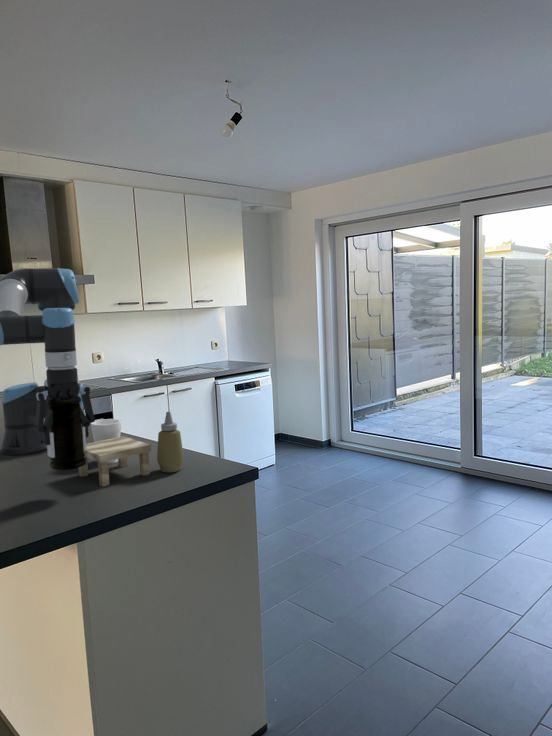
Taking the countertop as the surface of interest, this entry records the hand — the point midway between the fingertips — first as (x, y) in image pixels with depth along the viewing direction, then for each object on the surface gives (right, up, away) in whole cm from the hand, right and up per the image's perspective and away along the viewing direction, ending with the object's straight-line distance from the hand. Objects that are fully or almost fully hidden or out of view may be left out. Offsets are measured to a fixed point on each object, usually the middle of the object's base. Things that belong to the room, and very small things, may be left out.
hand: (67, 453), depth 146 cm
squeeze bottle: (+23, -9, +22) cm, 33 cm away
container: (0, -4, 0) cm, 4 cm away
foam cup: (+1, -8, +33) cm, 34 cm away
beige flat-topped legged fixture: (+7, -9, +18) cm, 22 cm away
